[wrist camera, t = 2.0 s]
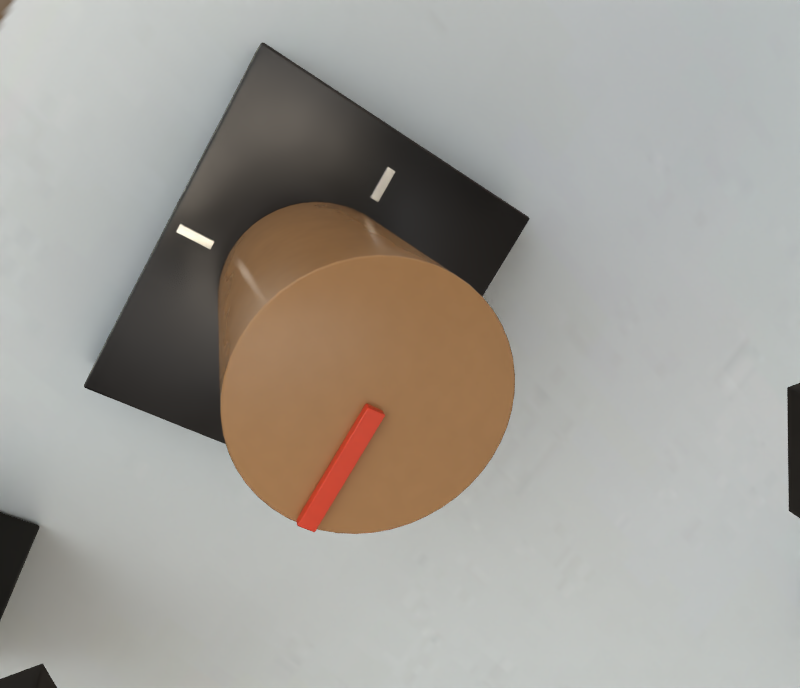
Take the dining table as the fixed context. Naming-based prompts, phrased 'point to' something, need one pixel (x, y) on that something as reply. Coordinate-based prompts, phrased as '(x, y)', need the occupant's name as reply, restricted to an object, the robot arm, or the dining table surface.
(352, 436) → the tan pointer knob
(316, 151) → the control knob panel
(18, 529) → the tissue box
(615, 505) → the dining table surface
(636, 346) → the dining table surface
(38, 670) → the robot arm
